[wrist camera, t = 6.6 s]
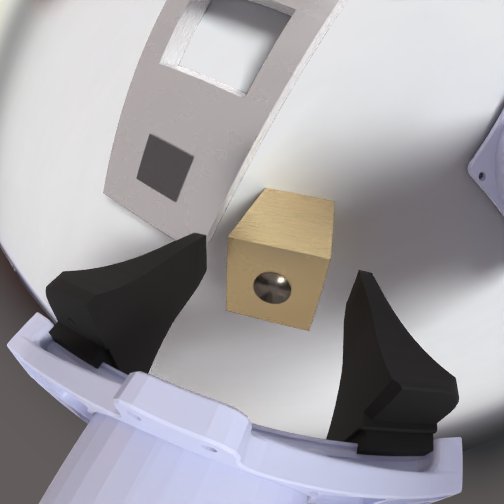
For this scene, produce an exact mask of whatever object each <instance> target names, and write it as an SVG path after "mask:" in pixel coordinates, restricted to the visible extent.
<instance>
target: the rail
mask: <svg viewBox="0 0 504 504" xmlns="http://www.w3.org/2000/svg"><path fill="white" fill-rule="evenodd" d="M248 1H251V2H254V3H257V4H260V5H263V6H266V7H269V8H272V9H274V10H277V11H280V12H282V13H285V14H287V15H290V16H292V17H291V18H290V20H289V22H288V23H287V25H286V26H285V28H284V30H283V31H282V33H281V35H280V36H279V38H278V40H277V41H276V43H275V45H274V46H273V48H272V50H271V51H270V53H269V55H268V57H267V58H266V60H265V62H264V64H263V65H262V67H261V69H260V71H259V73H258V74H257V76H256V78H255V80H254V82H253V84H252V86H251V87H250V89H249V91H248V93H247V94H245V93H243V92H241V91H239V90H237V89H235V88H232V87H230V86H228V85H226V84H224V83H221V82H219V81H217V80H214V79H212V78H210V77H207V76H205V75H202V74H200V73H198V72H195V71H192V70H190V69H187V68H185V67H182V66H179V63H180V61H181V58H182V56H183V54H184V52H185V50H186V48H187V46H188V44H189V41H190V39H191V37H192V35H193V33H194V31H195V30H196V28H197V26H198V24H199V22H200V20H201V18H202V16H203V15H204V13H205V11H206V9H207V7H208V6H209V4H210V2H211V0H167V1H166V3H165V5H164V7H163V9H162V11H161V13H160V15H159V17H158V19H157V21H156V23H155V25H154V27H153V29H152V31H151V34H150V36H149V38H148V40H147V43H146V45H145V48H144V50H143V52H142V55H141V57H140V60H139V62H138V65H137V68H136V70H135V73H134V76H133V79H132V82H131V84H130V87H129V90H128V93H127V96H126V100H125V103H124V106H123V109H122V113H121V116H120V120H119V123H118V127H117V131H116V135H115V139H114V143H113V147H112V151H111V156H110V160H109V165H108V170H107V175H106V180H105V186H104V192H103V193H104V194H106V195H107V196H109V197H110V198H112V199H113V200H115V201H116V202H118V203H119V204H121V205H122V206H124V207H125V208H127V209H128V210H130V211H131V212H133V213H134V214H136V215H137V216H139V217H140V218H142V219H144V220H145V221H147V222H148V223H150V224H151V225H153V226H154V227H156V228H157V229H159V230H161V231H162V232H164V233H165V234H167V235H168V236H170V237H171V238H173V239H175V240H178V239H181V238H183V237H185V236H187V235H190V234H192V233H199V234H204V235H206V244H207V243H208V242H209V241H210V240H211V238H212V236H213V234H214V232H215V230H216V228H217V226H218V224H219V222H220V220H221V218H222V216H223V214H224V212H225V210H226V208H227V206H228V204H229V202H230V201H231V199H232V197H233V195H234V193H235V191H236V189H237V187H238V185H239V183H240V181H241V179H242V178H243V176H244V174H245V172H246V170H247V168H248V166H249V164H250V163H251V161H252V159H253V157H254V155H255V153H256V151H257V150H258V148H259V146H260V144H261V142H262V140H263V139H264V137H265V135H266V133H267V131H268V130H269V128H270V126H271V124H272V123H273V121H274V119H275V117H276V115H277V114H278V112H279V110H280V108H281V107H282V105H283V103H284V102H285V100H286V98H287V96H288V95H289V93H290V91H291V90H292V88H293V86H294V84H295V83H296V81H297V79H298V78H299V76H300V74H301V73H302V71H303V69H304V68H305V66H306V64H307V63H308V61H309V60H310V58H311V56H312V55H313V53H314V51H315V50H316V48H317V47H318V45H319V43H320V42H321V40H322V39H323V37H324V35H325V34H326V32H327V31H328V29H329V28H330V26H331V25H332V23H333V21H334V20H335V18H336V17H337V15H338V14H339V12H340V11H341V9H342V8H343V6H344V5H345V3H346V2H347V0H248Z"/></svg>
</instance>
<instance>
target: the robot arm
mask: <svg viewBox="0 0 504 504" xmlns="http://www.w3.org/2000/svg"><path fill="white" fill-rule="evenodd" d="M481 172H482V173H483V176H482V178H481V179H479V173H481ZM468 173H469V175H470V176H471V177H472V178H473V179H474V181H475V182H476V183H477V184H478V185H479V186H480V187H481V189H482V190H483V191H484V192H485V193H486V195H487V196H488V197H489V198H490V199H491V201H492V202H493V203H494V204H495V206H496V207H497V208H498V210H499V211H500V212H501V214H502V215H503V216H504V109H503V111H502V112H501V114H500V116H499V118H498V119H497V121H496V123H495V124H494V126H493V128H492V129H491V131H490V133H489V134H488V136H487V137H486V139H485V140H484V142H483V144H482V145H481V147H480V148H479V150H478V151H477V153H476V154H475V156H474V157H473V159H472V160H471V161H470V163H469V165H468ZM206 270H207V261H206V235H204V234H199V233H192V234H190V235H187V236H185V237H183V238H181V239H178V240H176V241H174V242H172V243H170V244H168V245H165V246H163V247H161V248H159V249H156V250H154V251H152V252H149V253H147V254H145V255H142V256H139V257H137V258H134V259H131V260H128V261H124V262H121V263H117V264H113V265H109V266H105V267H100V268H94V269H87V270H78V271H64V272H62V273H61V274H60V275H59V276H58V277H56V278H55V279H54V280H53V281H52V282H51V283H50V284H49V285H48V286H47V287H46V296H47V299H48V302H49V304H50V306H51V308H52V310H53V312H54V314H55V316H56V318H57V320H58V322H57V323H56V324H55V325H53V323H52V322H51V321H50V320H48V319H47V318H45V317H44V316H42V315H41V314H39V313H36V314H35V315H34V316H33V317H32V318H31V319H30V320H29V321H28V322H27V323H26V324H25V325H24V326H23V328H22V329H21V330H20V331H19V332H18V333H17V334H16V335H15V336H14V337H13V338H12V339H11V340H10V342H9V343H8V344H7V346H8V348H9V349H10V351H11V352H12V353H13V355H14V356H15V357H16V358H17V360H18V361H19V362H20V364H21V365H22V366H23V368H24V369H25V370H26V371H27V372H28V374H29V375H30V376H31V377H32V378H33V379H34V380H35V381H37V382H38V383H39V384H40V385H41V386H42V387H43V388H44V389H45V390H47V391H48V392H49V393H50V394H51V395H52V396H54V397H55V398H56V399H57V400H58V401H59V402H61V403H62V404H63V405H64V406H66V407H67V408H68V409H69V410H71V411H72V412H73V413H74V414H76V415H77V416H78V417H80V418H81V419H82V420H84V421H85V422H86V423H88V425H87V427H86V428H85V430H84V431H83V433H82V435H81V436H80V438H79V439H78V441H77V442H76V444H75V445H74V447H73V448H72V450H71V452H70V453H69V455H68V456H67V458H66V460H65V462H64V463H63V464H62V466H61V468H60V469H59V471H58V473H57V474H56V476H55V477H54V479H53V481H52V482H51V484H50V486H49V487H48V489H47V491H46V493H45V495H44V496H43V498H42V499H41V501H40V503H39V504H429V503H432V502H435V501H439V500H441V499H444V498H447V497H450V496H453V495H455V494H458V493H460V492H461V491H462V438H460V437H455V438H440V439H436V440H434V441H433V433H436V432H437V423H438V422H439V421H440V420H441V419H443V418H444V417H445V416H446V415H448V414H449V413H450V412H451V411H452V410H453V409H454V408H455V407H456V405H457V404H458V402H459V395H458V388H457V382H456V378H455V377H454V376H453V375H451V374H450V373H449V372H448V371H446V370H445V369H444V368H442V367H441V366H440V365H439V364H438V363H437V362H436V361H435V360H433V359H432V358H431V357H430V356H429V355H428V354H427V353H426V352H425V351H424V350H423V349H422V348H421V346H420V345H419V344H418V343H417V342H416V341H415V340H414V339H413V337H412V336H411V335H410V334H409V332H408V331H407V330H406V328H405V327H404V326H403V324H402V323H401V322H400V320H399V319H398V317H397V316H396V314H395V313H394V311H393V310H392V308H391V306H390V305H389V303H388V301H387V300H386V298H385V296H384V294H383V292H382V291H381V289H380V287H379V285H378V283H377V282H376V280H375V278H374V276H373V274H372V273H369V272H365V271H361V270H359V272H358V275H357V277H356V280H355V283H354V285H353V288H352V291H351V293H350V296H349V298H348V301H347V303H346V310H345V318H344V339H343V366H342V374H341V380H340V386H339V391H338V396H337V401H336V405H335V409H334V413H333V417H332V421H331V425H330V428H329V432H328V435H327V439H320V438H315V437H309V436H304V435H299V434H294V433H289V432H285V431H280V430H276V429H272V428H268V427H264V426H260V425H256V424H253V423H251V422H250V420H249V418H248V417H247V416H246V415H245V414H243V413H242V412H241V411H239V410H238V409H236V408H234V407H232V406H229V405H227V404H225V403H222V402H220V401H217V400H214V399H211V398H208V397H205V396H202V395H200V394H197V393H194V392H192V391H189V390H186V389H184V388H181V387H179V386H176V385H174V384H171V383H169V382H167V381H164V380H162V379H160V378H157V377H155V376H153V375H150V374H148V373H149V370H150V368H151V365H152V363H153V361H154V359H155V356H156V354H157V352H158V350H159V348H160V346H161V344H162V342H163V340H164V338H165V336H166V334H167V332H168V330H169V328H170V326H171V325H172V323H173V321H174V320H175V318H176V317H177V315H178V314H179V313H180V311H181V310H182V308H183V307H184V306H185V304H186V303H187V301H188V300H189V299H190V297H191V296H192V294H193V293H194V292H195V290H196V289H197V287H198V286H199V284H200V282H201V280H202V278H203V276H204V274H205V272H206Z"/></svg>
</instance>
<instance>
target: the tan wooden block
mask: <svg viewBox="0 0 504 504" xmlns="http://www.w3.org/2000/svg"><path fill="white" fill-rule="evenodd" d="M334 204H335V202H334V201H330V200H325V199H320V198H315V197H311V196H306V195H301V194H295V193H290V192H285V191H279V190H274V189H268V188H265V189H264V190H263V192H262V193H261V194H260V195H259V197H258V198H257V199H256V201H255V202H254V203H253V204H252V206H251V207H250V208H249V210H248V211H247V212H246V214H245V215H244V216H243V217H242V219H241V220H240V221H239V223H238V224H237V225H236V227H235V228H234V229H233V231H232V232H231V233H230V235H229V236H228V248H227V292H226V310H228V311H231V312H235V313H239V314H242V315H246V316H250V317H254V318H258V319H262V320H266V321H270V322H274V323H278V324H282V325H286V326H290V327H294V328H299V329H303V330H308V331H309V330H310V327H311V324H312V321H313V318H314V314H315V311H316V308H317V305H318V302H319V298H320V295H321V292H322V288H323V285H324V281H325V278H326V274H327V271H328V267H329V263H330V260H331V249H332V236H333V222H334Z"/></svg>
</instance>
